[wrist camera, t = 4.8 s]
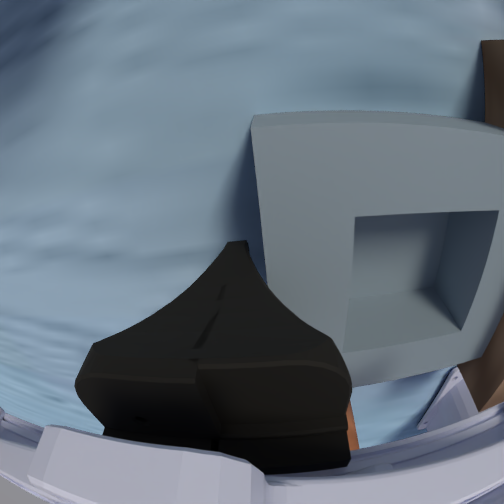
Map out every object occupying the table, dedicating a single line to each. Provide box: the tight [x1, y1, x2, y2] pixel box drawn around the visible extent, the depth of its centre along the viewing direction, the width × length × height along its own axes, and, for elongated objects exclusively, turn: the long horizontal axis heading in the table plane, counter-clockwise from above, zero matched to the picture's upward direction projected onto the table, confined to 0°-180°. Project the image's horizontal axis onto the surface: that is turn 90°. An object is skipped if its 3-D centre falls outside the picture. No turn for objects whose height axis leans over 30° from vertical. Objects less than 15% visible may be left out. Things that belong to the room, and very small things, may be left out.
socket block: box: [251, 111, 504, 387], centre depth 10 cm, size 10×10×4 cm
